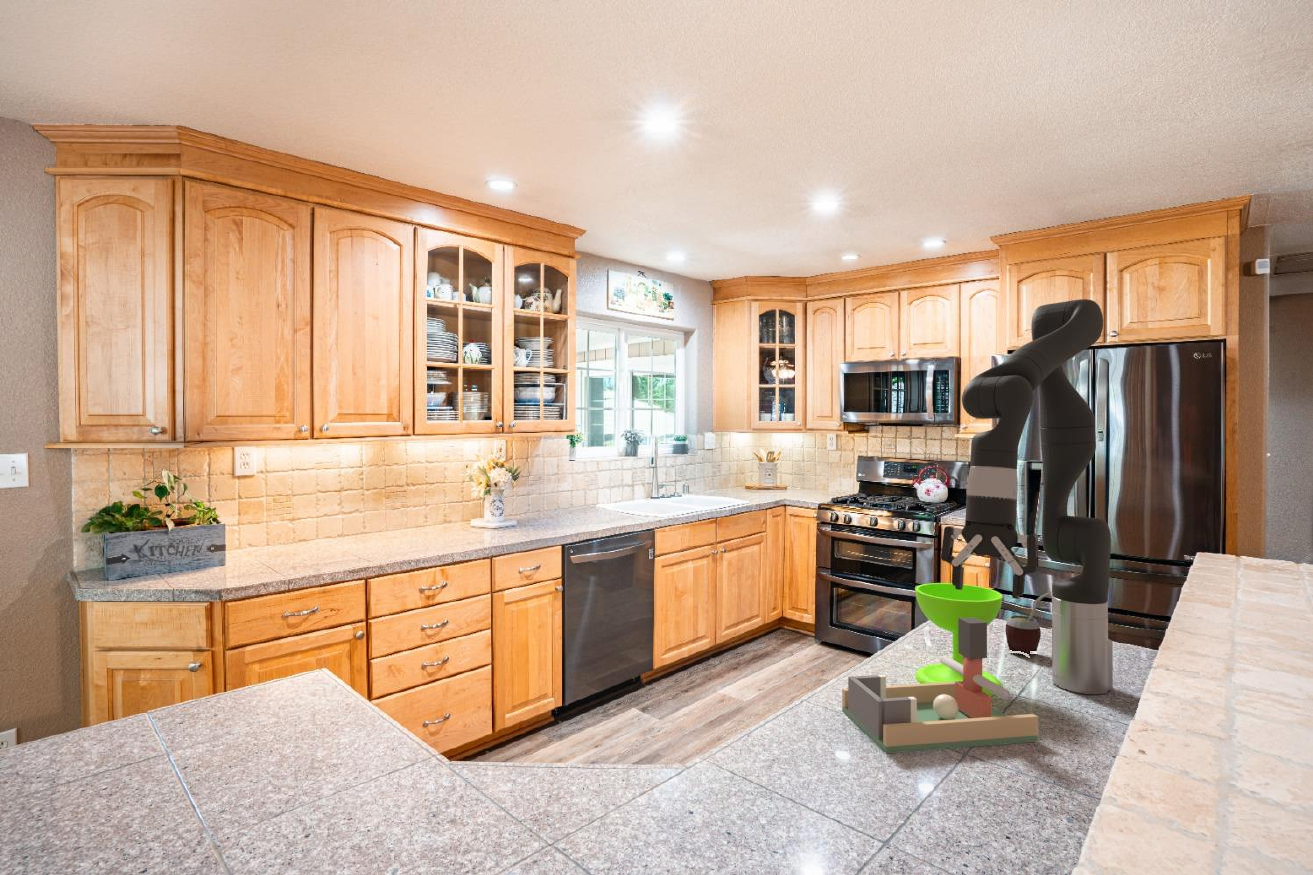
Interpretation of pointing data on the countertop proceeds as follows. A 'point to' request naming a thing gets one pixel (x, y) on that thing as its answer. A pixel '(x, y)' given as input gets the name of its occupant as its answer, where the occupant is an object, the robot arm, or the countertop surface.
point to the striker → (973, 670)
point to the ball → (945, 707)
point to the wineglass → (955, 621)
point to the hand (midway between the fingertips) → (986, 593)
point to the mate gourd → (1024, 631)
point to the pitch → (925, 718)
